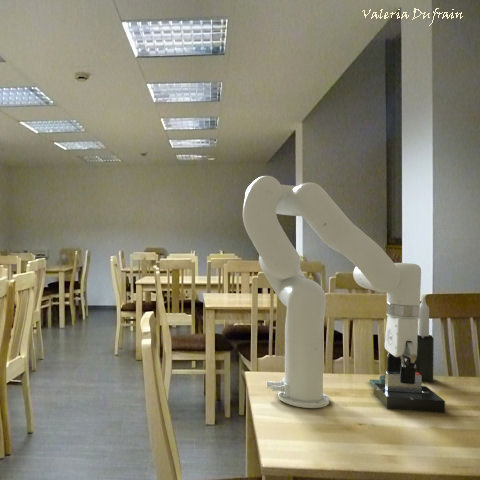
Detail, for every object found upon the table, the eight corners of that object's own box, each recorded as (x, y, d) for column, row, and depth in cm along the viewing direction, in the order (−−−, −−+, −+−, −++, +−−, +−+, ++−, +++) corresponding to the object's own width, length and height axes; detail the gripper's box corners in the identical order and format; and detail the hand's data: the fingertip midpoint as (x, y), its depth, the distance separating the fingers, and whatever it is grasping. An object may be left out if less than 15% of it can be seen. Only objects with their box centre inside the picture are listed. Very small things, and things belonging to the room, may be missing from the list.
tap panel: (385, 409, 108) (385, 397, 108) (370, 393, 120) (370, 381, 120) (445, 414, 106) (446, 401, 106) (425, 396, 118) (425, 384, 118)
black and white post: (412, 380, 132) (413, 296, 132) (414, 376, 136) (414, 295, 136) (432, 383, 129) (433, 298, 129) (433, 379, 133) (434, 296, 133)
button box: (377, 392, 121) (378, 381, 121) (369, 383, 129) (369, 373, 129) (417, 395, 119) (417, 384, 119) (406, 385, 127) (406, 375, 127)
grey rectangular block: (387, 391, 113) (387, 372, 113) (385, 388, 115) (385, 370, 115) (421, 393, 112) (421, 374, 112) (418, 390, 114) (418, 372, 114)
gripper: (376, 305, 123) (374, 366, 123) (398, 315, 106) (396, 386, 106) (406, 307, 121) (403, 369, 121) (433, 317, 104) (430, 389, 104)
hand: (400, 377), depth 113 cm, fingers open, 9 cm apart
